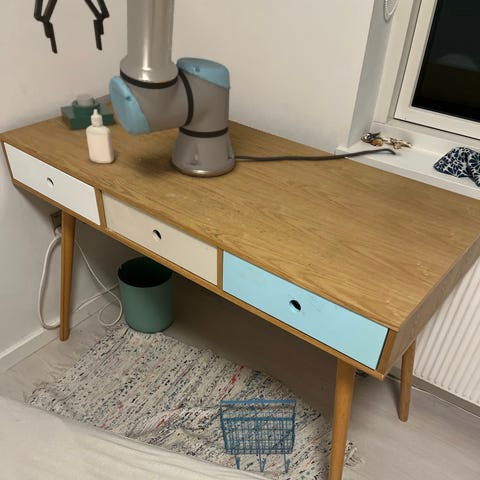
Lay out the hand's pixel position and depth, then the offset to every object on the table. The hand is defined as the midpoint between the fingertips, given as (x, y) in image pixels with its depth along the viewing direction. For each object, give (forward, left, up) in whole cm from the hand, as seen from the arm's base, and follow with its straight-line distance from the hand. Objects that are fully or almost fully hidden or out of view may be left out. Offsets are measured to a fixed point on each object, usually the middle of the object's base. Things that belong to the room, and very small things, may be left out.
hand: (77, 50), depth 130 cm
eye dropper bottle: (+4, +27, -18) cm, 33 cm away
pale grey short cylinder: (0, 0, -13) cm, 13 cm away
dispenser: (0, 0, -18) cm, 18 cm away
